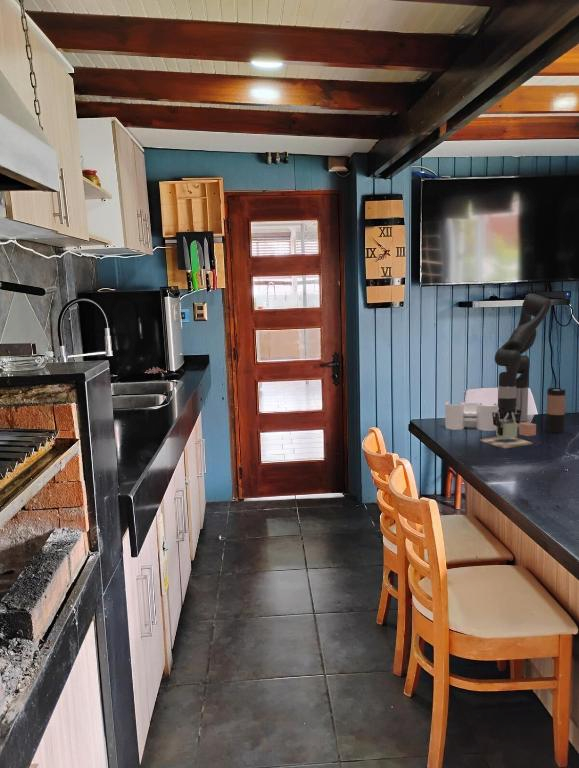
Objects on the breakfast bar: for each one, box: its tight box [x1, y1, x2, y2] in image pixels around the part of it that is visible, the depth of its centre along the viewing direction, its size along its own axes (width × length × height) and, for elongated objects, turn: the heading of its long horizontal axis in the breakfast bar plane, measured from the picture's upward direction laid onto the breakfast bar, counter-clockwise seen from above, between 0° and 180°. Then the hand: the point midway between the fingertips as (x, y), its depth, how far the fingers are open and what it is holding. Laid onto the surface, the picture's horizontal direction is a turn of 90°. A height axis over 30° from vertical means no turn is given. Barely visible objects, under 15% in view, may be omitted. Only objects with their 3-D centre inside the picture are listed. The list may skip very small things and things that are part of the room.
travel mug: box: [546, 387, 566, 435], centre depth 261 cm, size 8×8×20 cm
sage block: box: [495, 420, 518, 438], centre depth 246 cm, size 6×6×6 cm
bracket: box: [444, 401, 499, 432], centre depth 275 cm, size 25×10×12 cm, turn 74°
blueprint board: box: [480, 436, 533, 449], centre depth 247 cm, size 15×15×1 cm
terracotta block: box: [518, 422, 537, 437], centre depth 259 cm, size 5×5×5 cm
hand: (506, 434), depth 246 cm, fingers closed on sage block, 6 cm apart
